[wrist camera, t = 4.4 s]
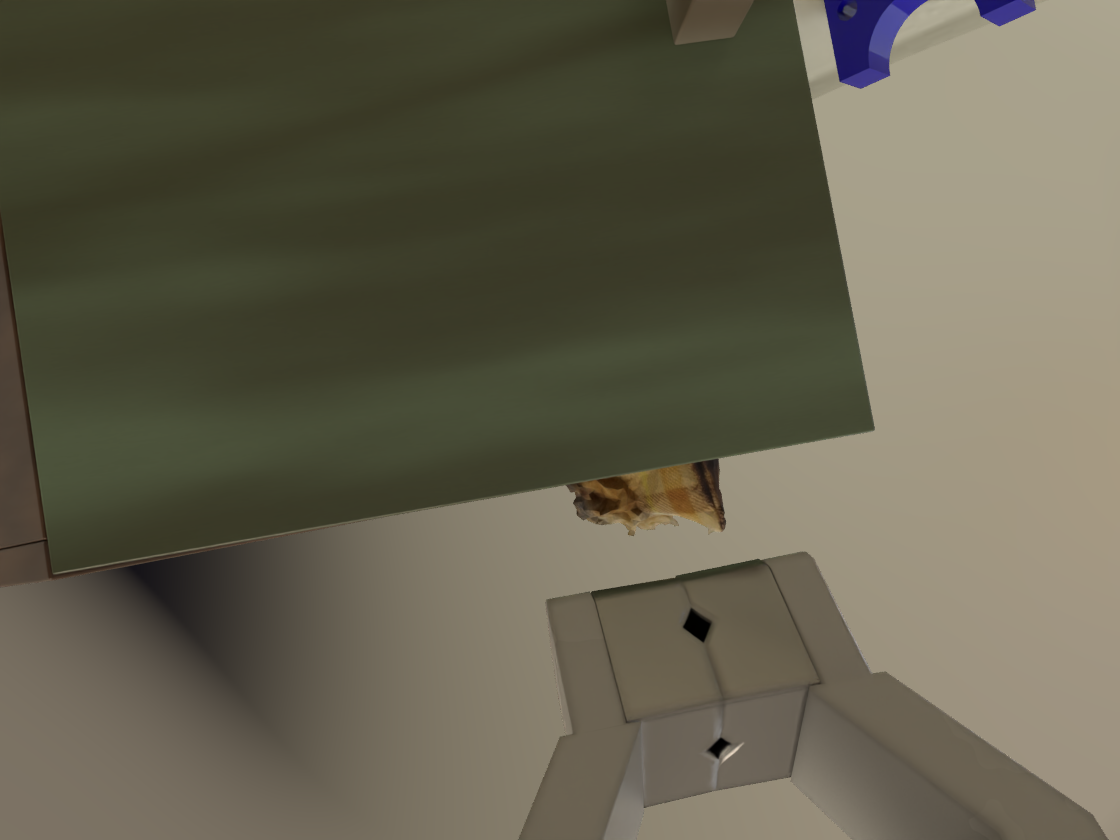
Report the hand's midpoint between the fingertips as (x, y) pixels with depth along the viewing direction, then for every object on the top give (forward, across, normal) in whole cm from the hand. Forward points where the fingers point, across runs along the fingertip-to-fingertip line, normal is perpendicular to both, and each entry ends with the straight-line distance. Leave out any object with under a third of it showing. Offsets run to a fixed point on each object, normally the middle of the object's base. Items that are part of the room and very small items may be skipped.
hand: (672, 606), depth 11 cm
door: (+22, +2, -8) cm, 23 cm away
